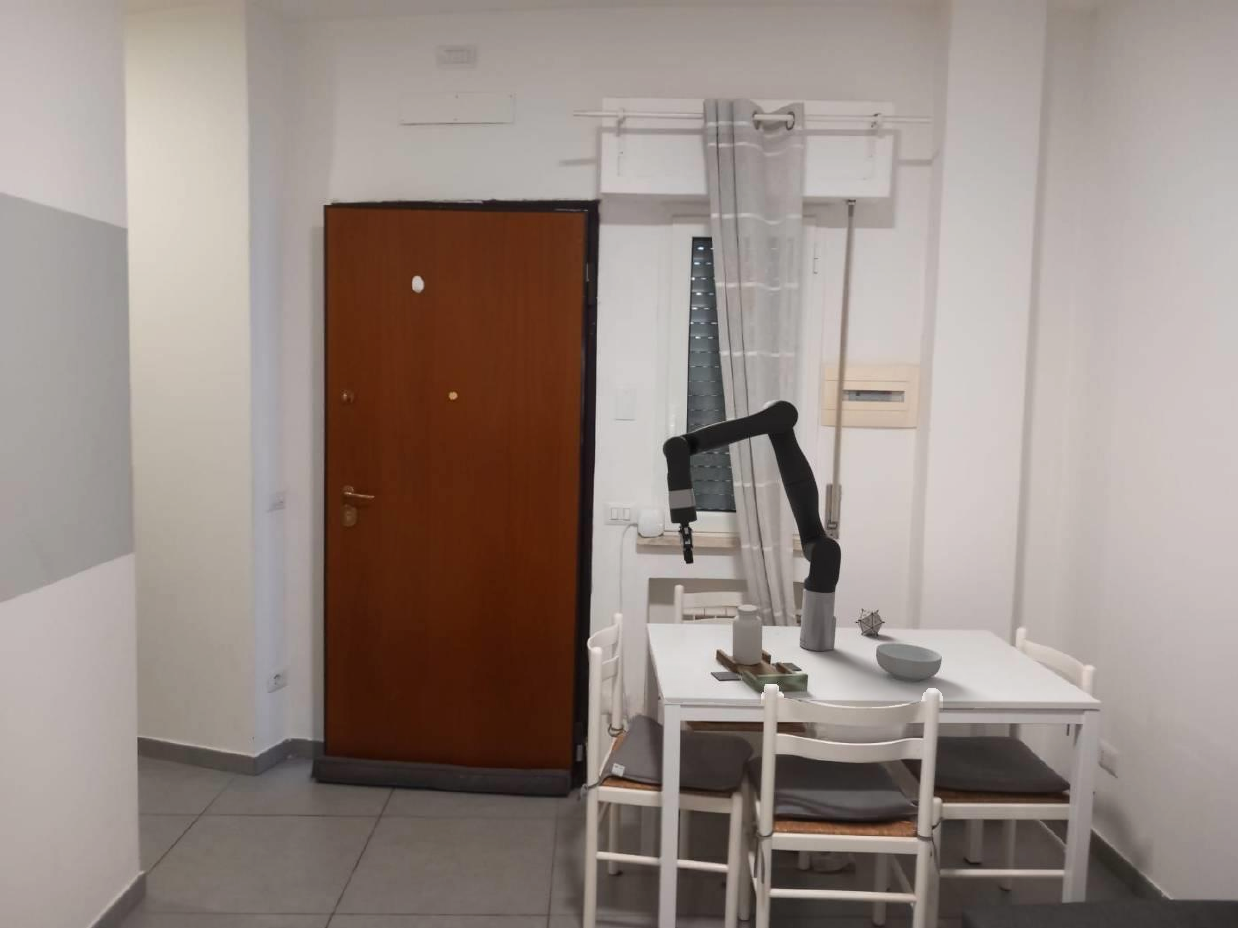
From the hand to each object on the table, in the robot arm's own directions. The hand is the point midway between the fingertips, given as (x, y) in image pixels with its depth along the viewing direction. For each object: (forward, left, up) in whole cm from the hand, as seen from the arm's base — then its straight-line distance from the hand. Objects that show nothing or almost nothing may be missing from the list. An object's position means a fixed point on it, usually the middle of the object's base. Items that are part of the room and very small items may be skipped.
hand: (688, 562), depth 250 cm
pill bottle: (-12, +17, -24) cm, 32 cm away
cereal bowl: (-52, +32, -25) cm, 66 cm away
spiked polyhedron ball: (-65, -9, -25) cm, 71 cm away
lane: (-12, +25, -25) cm, 37 cm away
